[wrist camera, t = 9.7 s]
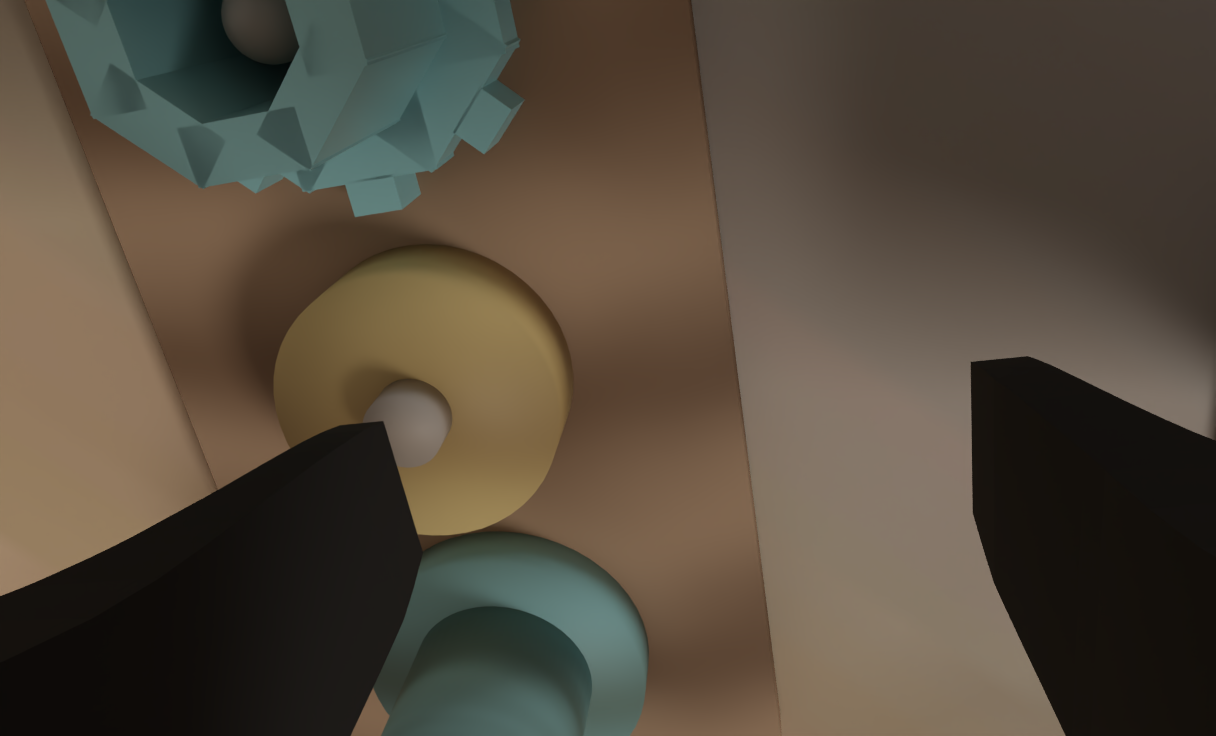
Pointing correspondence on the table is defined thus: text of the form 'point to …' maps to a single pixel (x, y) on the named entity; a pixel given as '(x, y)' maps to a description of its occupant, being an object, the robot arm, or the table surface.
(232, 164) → the gear
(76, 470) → the table surface
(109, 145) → the gear carrier
